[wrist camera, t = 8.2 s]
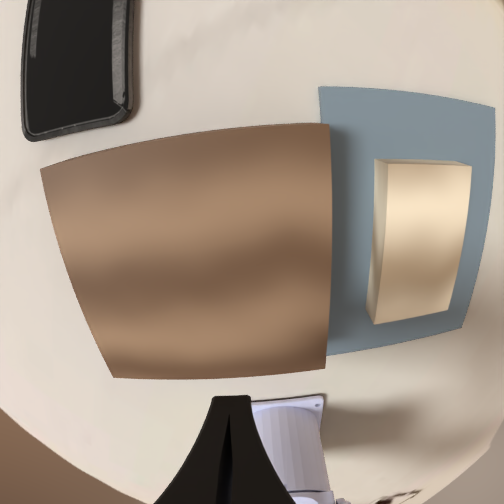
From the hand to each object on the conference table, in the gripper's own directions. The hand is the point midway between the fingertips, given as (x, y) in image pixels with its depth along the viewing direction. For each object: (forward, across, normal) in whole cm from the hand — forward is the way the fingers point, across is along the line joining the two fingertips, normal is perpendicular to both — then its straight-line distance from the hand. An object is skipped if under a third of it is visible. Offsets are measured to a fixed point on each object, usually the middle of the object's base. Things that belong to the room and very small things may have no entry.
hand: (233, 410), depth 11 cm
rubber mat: (+9, -12, -3) cm, 15 cm away
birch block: (+7, -11, -3) cm, 14 cm away
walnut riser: (+9, +2, -3) cm, 10 cm away
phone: (+10, +8, -18) cm, 23 cm away
